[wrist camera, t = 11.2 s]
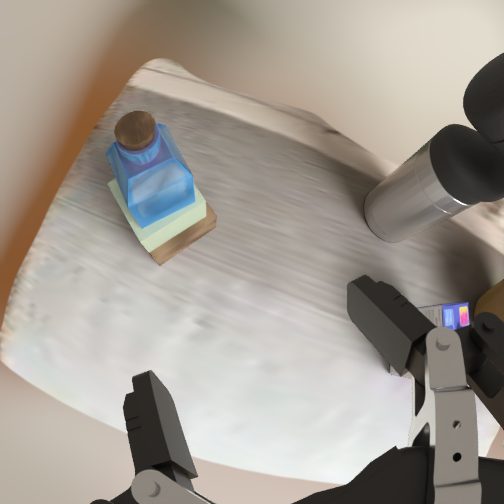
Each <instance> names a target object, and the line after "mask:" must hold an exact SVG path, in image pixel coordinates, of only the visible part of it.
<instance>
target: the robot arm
mask: <svg viewBox="0 0 504 504" xmlns="http://www.w3.org/2000/svg"><path fill="white" fill-rule="evenodd" d="M463 108H464V111H465V115H466V117H467V118H468V120H469V121H470V123H471V124H472V125H473V126H474V128H475V129H476V130H477V131H475V130H473V129H471V128H469V127H466V126H463V125H459V124H451V125H448V126H446V127H444V128H443V129H441V130H440V131H439V132H438V133H437V134H436V135H435V136H434V137H433V138H431V139H430V140H429V141H428V142H427V143H426V144H425V145H423V146H422V147H421V148H420V149H419V150H418V151H417V152H416V153H415V154H413V155H412V156H411V157H410V158H409V159H408V160H407V161H405V162H404V163H403V164H402V165H401V166H400V167H398V168H397V169H396V170H395V171H394V172H393V173H391V174H390V175H389V176H388V177H387V178H386V179H384V180H383V181H382V182H381V183H380V184H378V185H377V186H376V187H375V188H374V189H373V190H371V191H370V193H369V194H368V195H367V197H366V199H365V203H364V213H365V218H366V221H367V223H368V225H369V227H370V229H371V230H372V231H373V232H374V233H375V234H376V235H377V236H378V237H379V238H381V239H383V240H384V241H387V242H394V243H395V242H400V241H402V240H404V239H406V238H409V237H411V236H413V235H415V234H417V233H419V232H421V231H424V230H426V229H428V228H430V227H432V226H434V225H436V224H438V223H440V222H442V221H444V220H446V219H448V218H450V217H452V216H454V215H456V214H458V213H460V212H462V211H464V210H466V209H468V208H470V207H472V206H474V205H475V204H477V203H479V202H493V201H497V200H499V199H502V198H504V53H502V54H500V55H499V56H497V57H496V58H494V59H493V60H491V61H490V62H489V63H488V64H486V65H485V66H484V67H483V68H482V69H481V70H480V71H479V72H478V73H477V74H476V75H475V76H474V77H473V79H472V80H471V81H470V83H469V85H468V87H467V89H466V91H465V94H464V98H463ZM347 310H348V314H349V316H350V318H351V320H352V322H353V323H354V324H355V325H356V326H357V327H358V328H359V330H360V331H361V332H362V333H363V334H364V335H365V336H366V338H367V339H368V340H369V341H370V342H371V343H372V344H373V345H374V347H375V348H376V349H377V350H378V351H379V352H380V353H381V355H382V356H383V357H384V358H385V359H386V360H387V361H388V363H389V364H390V365H391V366H392V367H393V368H394V370H395V371H396V372H397V373H398V374H399V375H400V376H401V377H402V376H403V375H405V374H406V373H407V372H410V373H411V374H412V421H411V426H410V430H409V436H408V447H405V448H401V449H397V447H396V446H395V447H393V448H392V449H390V450H389V451H387V452H386V453H384V454H383V455H381V456H380V457H378V458H376V459H375V460H373V461H372V462H370V463H369V464H368V465H367V466H366V467H365V468H364V469H363V470H362V471H361V472H360V473H359V474H358V475H357V476H356V477H355V478H354V479H353V480H352V481H351V482H349V483H348V484H346V485H343V486H340V487H336V488H332V489H328V490H325V491H321V492H317V493H314V494H312V495H310V496H308V497H306V498H303V499H301V500H299V501H297V502H295V503H292V504H504V460H501V459H493V458H486V457H479V456H478V431H477V415H476V403H475V394H476V395H477V396H478V398H479V399H480V400H481V401H482V403H483V404H484V405H485V406H486V408H487V409H488V410H489V412H490V413H491V414H492V415H493V417H494V418H495V419H496V421H497V422H498V423H499V424H500V426H501V427H502V428H503V430H504V322H503V321H502V320H501V319H500V318H499V317H498V316H496V315H495V314H493V313H490V312H481V313H479V314H478V315H477V316H476V317H475V319H474V321H473V323H472V324H470V325H467V326H465V327H462V328H459V329H456V330H452V329H450V328H447V327H437V326H435V325H434V324H433V323H432V322H431V321H430V320H429V319H428V318H427V317H426V316H425V315H423V314H422V313H421V312H420V311H419V310H418V309H417V308H416V307H415V306H414V305H413V304H412V303H411V302H408V300H407V299H406V298H405V297H404V296H402V295H401V293H400V292H398V291H397V290H396V289H395V288H394V287H393V286H391V285H389V284H386V283H384V282H382V281H380V282H378V283H375V282H374V281H373V280H372V279H371V278H370V277H368V276H367V275H363V276H361V277H359V278H357V279H355V280H353V281H351V282H349V283H348V285H347ZM491 361H492V362H493V363H492V362H491ZM499 370H500V371H499ZM132 383H133V389H134V392H132V393H129V394H126V397H125V401H124V405H123V411H124V417H125V421H126V428H127V431H128V439H129V443H130V448H131V453H132V458H133V462H134V467H135V478H134V479H133V482H132V485H131V486H130V488H129V489H128V490H126V491H125V492H123V493H122V494H120V495H119V496H117V497H115V498H114V499H113V500H111V501H107V500H102V499H99V500H95V501H93V502H92V503H90V504H217V503H215V502H213V501H212V500H210V499H208V498H207V497H205V496H203V495H202V494H200V493H198V492H197V491H195V490H194V488H193V485H192V483H191V480H190V479H193V478H196V477H198V475H197V472H196V469H195V466H194V464H193V461H192V458H191V455H190V452H189V449H188V446H187V443H186V440H185V437H184V434H183V431H182V427H181V424H180V421H179V418H178V414H177V411H176V408H175V404H174V401H173V399H172V397H171V395H170V393H169V391H168V390H167V388H166V387H165V386H164V385H163V384H162V382H161V381H160V380H159V379H158V377H157V376H156V375H155V374H154V373H153V371H151V370H149V371H147V372H144V373H141V374H139V375H136V376H133V377H132ZM467 384H468V385H469V387H468V386H467ZM474 393H475V394H474ZM503 446H504V443H503Z"/></svg>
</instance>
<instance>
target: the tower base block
mask: <svg viewBox="0 0 504 504" xmlns="http://www.w3.org/2000/svg"><path fill="white" fill-rule="evenodd" d="M216 218H217V215H216V214H215V213H214V211H213V210H212V209H211V207H210V206H209V205H208V203H207V202H206V217H205V218H203V219H201V220H200V221H198V222H197V223H195V224H193V225H192V226H190V227H189V228H187V229H185V230H184V231H182V232H181V233H179V234H177V235H176V236H174V237H173V238H171V239H170V240H168V241H167V242H165V243H163V244H162V245H160V246H159V247H157V248H156V249H154V250H153V251H151V252H150V254H151V255H152V257H153V258H154V259H155V261H156V262H157V263H158V264H159V265H160V266H161V265H162V264H163V263H165V262H166V261H168V260H169V259H171V258H172V257H173V256H175V255H176V254H178V253H179V252H181V251H182V250H183V249H185V248H186V247H188V246H189V245H191V244H192V243H193V242H195V241H196V240H198V239H199V238H201V237H202V236H204V235H205V234H207V233H208V232H210V231H211V230H212V229H214V228H215V227H216Z"/></svg>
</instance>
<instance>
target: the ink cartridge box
mask: <svg viewBox="0 0 504 504" xmlns="http://www.w3.org/2000/svg"><path fill="white" fill-rule="evenodd" d="M417 309H418V310H419V311H420V312H421V313H422V314H423V315H425V316H426V317H427V318H428V319H429V320H430V321H431V322H432V323H433V324H434V325H435V326H437V327H447V328H450V329H452V330H456V329H459V328H462V327H465V326H467V325H469V310H468V302H461V303H449V304H440V305H433V306H426V307H418V308H417ZM390 374H391V375H395V376H400V375H399V374H398V373H397V372H396V371H395V370H394V368H393V367H392V366H391V365H390ZM400 377H401V376H400ZM402 377H405V378H410V379H412V374H411V373H410V372H407V373H406V374H405V375H403V376H402Z"/></svg>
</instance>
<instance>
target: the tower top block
mask: <svg viewBox="0 0 504 504" xmlns="http://www.w3.org/2000/svg"><path fill="white" fill-rule="evenodd" d="M107 184H108V186H109V187H110V189H111V191H112V193H113V195H114V197H115V199H116V200H117V202H118V204H119V206H120V208H121V209H122V211H123V213H124V215H125V217H126V218H127V220H128V222H129V224H130V225H131V227H132V229H133V231H134V232H135V234H136V236H137V237H138V239H139V241H140V242H141V244H142V245H143V246H144V247H145V248H146V250H147V251H148V252H149V253H150V252H151V251H153V250H154V249H156V248H157V247H159V246H160V245H162V244H163V243H165V242H167V241H168V240H170V239H171V238H173V237H174V236H176V235H177V234H179V233H181V232H182V231H184V230H185V229H187V228H189V227H190V226H192V225H193V224H195V223H197V222H198V221H200V220H201V219H203V218H205V217H206V200H205V199H204V198H203V196H202V195H201V193H200V192H199V190H198V189H197V187H196V186H195V184H194V192H195V202H194V203H192V204H190V205H188V206H186V207H184V208H182V209H180V210H178V211H176V212H174V213H172V214H170V215H168V216H166V217H164V218H162V219H160V220H158V221H156V222H154V223H152V224H150V225H149V226H147V227H145V228H143V229H142V228H141V226H140V225H139V223H138V222H137V220H136V219H135V217H134V216H133V215H132V213H131V212H130V210H129V209H128V207H127V204H126V202H125V200H124V197H123V195H122V192H121V190H120V188H119V185H118V183H117V180H116V178H115V179H114V180H112V181H110V182H109V183H107Z"/></svg>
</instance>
